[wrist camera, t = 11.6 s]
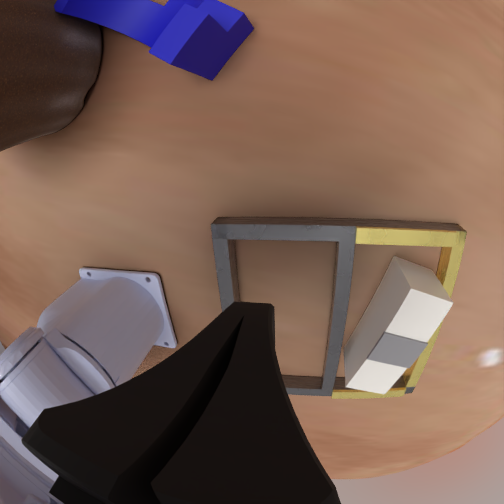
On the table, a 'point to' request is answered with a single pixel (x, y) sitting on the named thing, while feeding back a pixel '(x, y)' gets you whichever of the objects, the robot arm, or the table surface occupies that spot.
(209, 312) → the table surface
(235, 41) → the cable clip
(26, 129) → the plant pot
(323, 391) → the rack
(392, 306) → the white banded pillar
